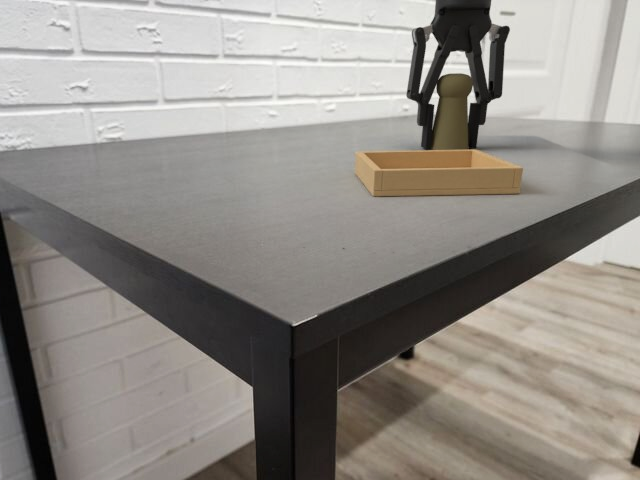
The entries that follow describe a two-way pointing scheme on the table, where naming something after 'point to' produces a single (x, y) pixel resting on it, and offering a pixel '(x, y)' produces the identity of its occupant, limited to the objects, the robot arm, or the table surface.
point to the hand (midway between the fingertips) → (448, 147)
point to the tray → (436, 173)
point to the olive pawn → (452, 113)
